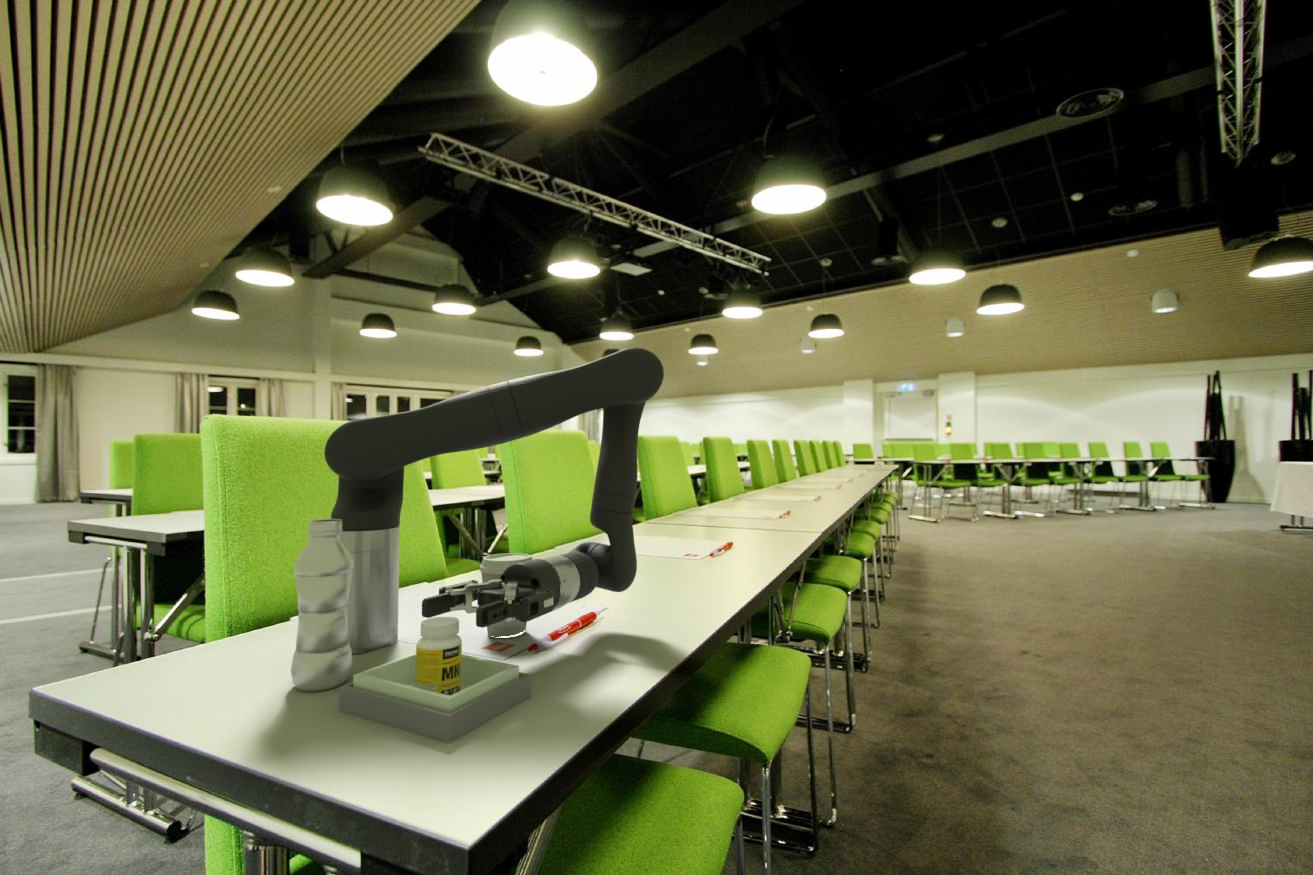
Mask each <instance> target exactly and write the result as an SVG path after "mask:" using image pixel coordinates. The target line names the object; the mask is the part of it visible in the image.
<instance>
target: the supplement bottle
mask: <svg viewBox="0 0 1313 875" xmlns="http://www.w3.org/2000/svg"><path fill="white" fill-rule="evenodd" d="M459 633H460V619H459V618H457V617H454V616H437V617H436V616H435V617H430V618H426V619H425V620H422V621H421V623H420V636H421V638H420V639H419V640H418V641H417V643H416V646H415V648H416V649H415V650H416V651H415V653H416V677H415V687H416V688H420V689H424V690H428V691H433V692H437V693H441V694H445V695H449V696H451V695H453V694H455V693H457V692H459V691H460V684H461V654H462V650H463V649H462V637H461V636H460V635H458V634H459Z"/></svg>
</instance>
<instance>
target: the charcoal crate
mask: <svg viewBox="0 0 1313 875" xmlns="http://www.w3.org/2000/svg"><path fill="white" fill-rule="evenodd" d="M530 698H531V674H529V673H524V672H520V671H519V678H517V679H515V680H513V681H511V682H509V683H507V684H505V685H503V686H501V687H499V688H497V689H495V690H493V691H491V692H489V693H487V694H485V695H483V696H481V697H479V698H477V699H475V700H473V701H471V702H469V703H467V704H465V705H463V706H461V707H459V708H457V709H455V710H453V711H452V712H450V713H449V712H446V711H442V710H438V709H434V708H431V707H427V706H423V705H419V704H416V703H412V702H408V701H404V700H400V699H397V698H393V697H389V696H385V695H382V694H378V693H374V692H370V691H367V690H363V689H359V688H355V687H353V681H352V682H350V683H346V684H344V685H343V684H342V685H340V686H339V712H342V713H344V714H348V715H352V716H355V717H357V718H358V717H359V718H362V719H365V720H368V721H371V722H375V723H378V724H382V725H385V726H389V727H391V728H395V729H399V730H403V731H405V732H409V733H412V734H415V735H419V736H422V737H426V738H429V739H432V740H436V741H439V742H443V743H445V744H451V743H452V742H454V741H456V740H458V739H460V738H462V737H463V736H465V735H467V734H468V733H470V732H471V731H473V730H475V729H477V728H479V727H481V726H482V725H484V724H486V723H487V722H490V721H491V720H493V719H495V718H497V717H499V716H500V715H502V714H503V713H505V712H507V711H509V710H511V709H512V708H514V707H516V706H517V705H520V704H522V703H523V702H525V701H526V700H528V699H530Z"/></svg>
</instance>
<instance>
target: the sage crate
mask: <svg viewBox="0 0 1313 875" xmlns="http://www.w3.org/2000/svg"><path fill="white" fill-rule="evenodd" d="M519 672H520V665H516V664H512V663H508V662H507V663H506V662H500V661H496V660H492V659H488V658H487V659H486V658H481V657H477V656H471V655H467V654H463V653H461V684H460V691H459V692H457V693H455V694H453V695H451V696H449V695H445V694H441V693H437V692H433V691H428V690H424V689H420V688H416V687H415V677H416V652H413V653H411V654H408V655H404V656H401V657H400V658H396V659H393V660H391V661H388V662H386V663H383V664H380V665H378V666H373V667H371V668H370V669H366V670H363V671H361V672H358V673H355V674H353V676H352V678H353V679H352V682H353V687H355V688H359V689H363V690H367V691H370V692H374V693H378V694H382V695H385V696H389V697H393V698H397V699H400V700H404V701H408V702H412V703H416V704H419V705H423V706H427V707H431V708H434V709H438V710H442V711H446V712H449V713H450V712H452V711H453V710H455V709H457V708H459V707H461V706H463V705H465V704H467V703H469V702H471V701H473V700H475V699H477V698H479V697H481V696H483V695H485V694H487V693H489V692H491V691H493V690H495V689H497V688H499V687H501V686H503V685H505V684H507V683H509V682H511V681H513V680H515V679H517V678H519Z"/></svg>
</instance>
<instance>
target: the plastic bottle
mask: <svg viewBox="0 0 1313 875" xmlns="http://www.w3.org/2000/svg"><path fill="white" fill-rule="evenodd" d="M340 535H343V530H342V519H331V518H322V519H312V520H309V521H308V531H307V535H306V536H307V537H308V538H309V541H308V542H307V544H306V545H305V546H304V547H303V549H301V551H300V553H299V555H298V556H297V557H296V560H295V563H294V566H293V567H294V568H293V569H294V575H295V576H294V580H295V584H296V585H295V587H296V595H297V610H298V615H297V616H298V617H297V618H298V620H297V621H298V622H297V623H298V625H297V633H296V642H295V650H294V652H293V657H292V662H291V667H290V673H291V680H292V681H291V682H292V684H293V685H294V686H295V688H296V689H297V690H298V691H302V692H306V693H309V692H321V691H327V690H329V689H333V688H336V687H340V686H342V685H343V684H344V683H345V682H346V681H347V680H348V678H349V676H350V675H351V671H352V665H353V654H352V651H351V646H350V643H349V630H348V605H349V592H350V586H351V580H352V574H353V568H354V560H353V557H352V554H351V553H350V551H349V550H348V548H347V547H346V546H345V544H344V543H343V542H342V541H341V538H340Z"/></svg>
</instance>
